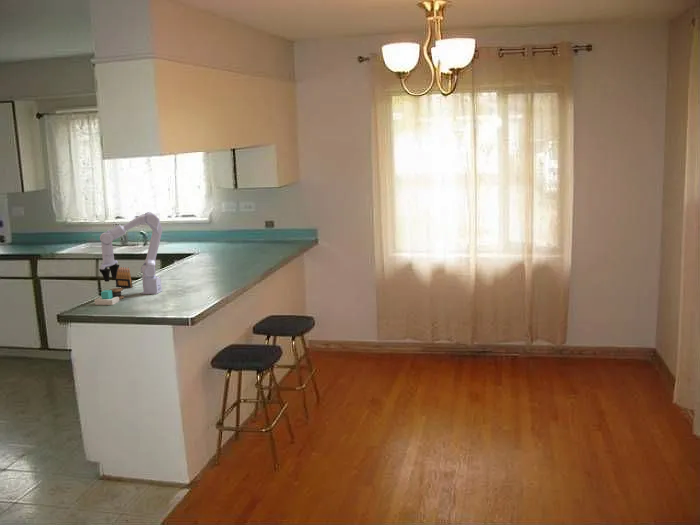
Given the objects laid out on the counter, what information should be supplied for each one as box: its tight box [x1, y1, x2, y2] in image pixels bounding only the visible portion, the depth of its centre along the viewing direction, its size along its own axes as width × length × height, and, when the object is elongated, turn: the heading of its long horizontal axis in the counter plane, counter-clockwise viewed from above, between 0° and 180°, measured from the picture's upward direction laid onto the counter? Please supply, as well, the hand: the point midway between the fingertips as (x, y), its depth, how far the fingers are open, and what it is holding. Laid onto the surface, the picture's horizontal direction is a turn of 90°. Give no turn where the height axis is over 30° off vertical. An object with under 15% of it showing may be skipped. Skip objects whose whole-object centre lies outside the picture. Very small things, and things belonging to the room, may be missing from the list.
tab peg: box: [100, 289, 113, 299], centre depth 363 cm, size 4×4×6 cm
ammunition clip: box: [115, 266, 134, 289], centre depth 397 cm, size 11×2×12 cm, turn 66°
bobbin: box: [109, 287, 125, 300], centre depth 372 cm, size 7×7×5 cm
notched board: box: [94, 296, 120, 306], centre depth 363 cm, size 10×7×2 cm
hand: (110, 279), depth 372 cm, fingers open, 7 cm apart
